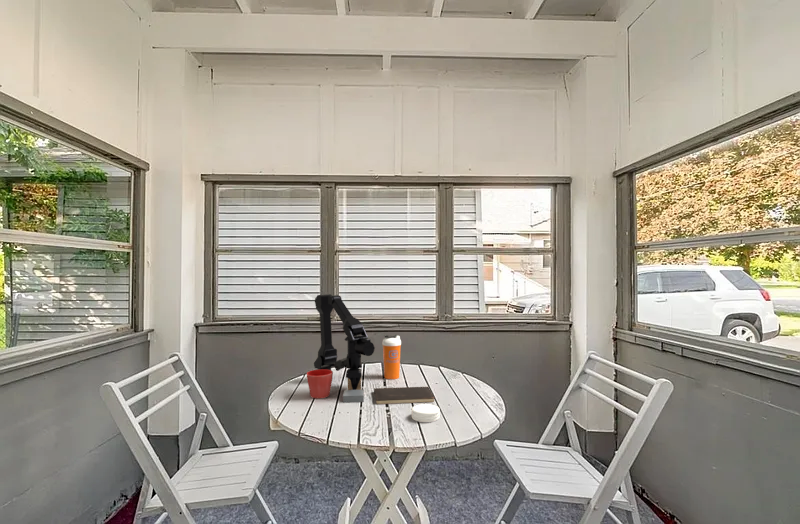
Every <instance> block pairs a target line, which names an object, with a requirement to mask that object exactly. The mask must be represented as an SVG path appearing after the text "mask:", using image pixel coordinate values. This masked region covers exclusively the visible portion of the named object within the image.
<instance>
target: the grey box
mask: <svg viewBox="0 0 800 524" xmlns="http://www.w3.org/2000/svg"><path fill="white" fill-rule="evenodd" d="M364 398H365V389H361V390H348V389H344V390H343V395H342V402H343V403H364V402H365V399H364Z"/></svg>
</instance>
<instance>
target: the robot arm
mask: <svg viewBox="0 0 800 524" xmlns="http://www.w3.org/2000/svg"><path fill="white" fill-rule="evenodd" d="M314 305H315V309H316V311H317V313H319V326H320V347H319V349H318V351H317V357H316V360H315V361H314V363H313V366H314V369H316V370H319V369H327V370H331V371H332V368H334V369H335V371H336V372H338V371H340V370H343V369H347V370H346V372H345V378H347V379H348V378H349V379H350V380H351V384H352V389H353V390H356V389H357V386H358V384H359V381H360V378H361V379H362V368H363V362H362V356H366V357H370V356H372V355H373V354H374V353H375V348H376V347H375V345H374V343H373V342H372V341H371V339H370V338H369V336H368V333H367V332H366V329H365V326H364V325H363V323H362V322H361V320H359V319H358V318H356V317H354V315H352V313H351V312H350V310H349V308H348V307H347V306H346V305H345V303H344V301H343V300H342V296H341V295H339V294H337V295H336V294H335V295H332V293H331V294H330V293H328V294H326V293H325V294H317V296H316V297H315V299H314ZM333 310H334V312H335V313H336V314H337V316H338V318H339V319H340V320H341V322H342V329H343V331H344V333H345V335H346V337H345V338H344V341H345V342H347V354H346V357H343V358H341V359H338V350H337V348H335V347H334V345H333V338H332V337H333V336H332V335H333V334H332V315H331V314H332V312H333ZM332 380H333V376H332Z"/></svg>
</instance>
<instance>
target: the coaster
mask: <svg viewBox="0 0 800 524" xmlns="http://www.w3.org/2000/svg"><path fill="white" fill-rule="evenodd" d="M440 410H441V409H440V407H439V406H437V405H434V404H429V403H421V404H420V403H419V404H416V405H414V406H412V408H411V418H412V419H411V420H413V421H415V422H418V423H434V422H437V421H439V420H440V417H441V416H440V414H441V413H440Z"/></svg>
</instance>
